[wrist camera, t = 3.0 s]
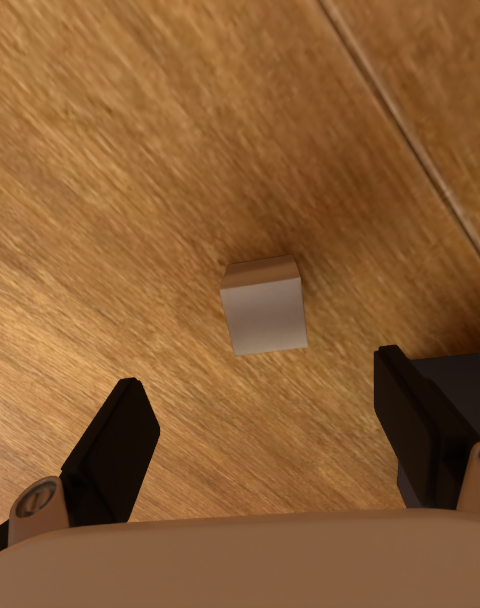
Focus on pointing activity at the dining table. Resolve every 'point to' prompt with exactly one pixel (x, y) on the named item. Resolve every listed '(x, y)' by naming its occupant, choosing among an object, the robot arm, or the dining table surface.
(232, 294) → the block
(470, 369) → the carton
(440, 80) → the dining table surface
